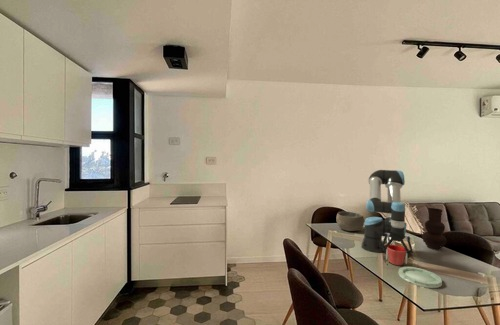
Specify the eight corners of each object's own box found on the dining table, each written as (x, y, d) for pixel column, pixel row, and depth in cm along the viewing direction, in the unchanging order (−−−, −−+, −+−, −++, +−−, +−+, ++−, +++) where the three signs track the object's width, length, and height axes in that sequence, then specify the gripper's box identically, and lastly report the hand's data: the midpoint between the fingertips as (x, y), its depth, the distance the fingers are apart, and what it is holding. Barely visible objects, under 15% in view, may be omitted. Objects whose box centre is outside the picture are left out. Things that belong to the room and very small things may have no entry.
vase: (438, 253, 174) (440, 212, 173) (416, 245, 188) (418, 207, 187) (451, 250, 180) (452, 210, 180) (429, 243, 194) (430, 206, 194)
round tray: (398, 281, 133) (399, 277, 133) (398, 267, 150) (398, 263, 150) (445, 292, 123) (445, 288, 123) (438, 275, 140) (438, 272, 140)
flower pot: (409, 267, 149) (409, 251, 149) (389, 265, 151) (390, 250, 151) (402, 260, 159) (402, 245, 159) (384, 258, 162) (384, 244, 161)
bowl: (333, 225, 241) (334, 210, 240) (359, 226, 237) (359, 211, 237) (339, 232, 217) (339, 216, 216) (367, 234, 213) (368, 217, 213)
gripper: (377, 225, 157) (376, 258, 158) (419, 231, 145) (418, 267, 146) (377, 222, 163) (376, 254, 164) (418, 228, 152) (417, 262, 153)
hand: (396, 260), depth 155 cm, fingers closed on flower pot, 10 cm apart
